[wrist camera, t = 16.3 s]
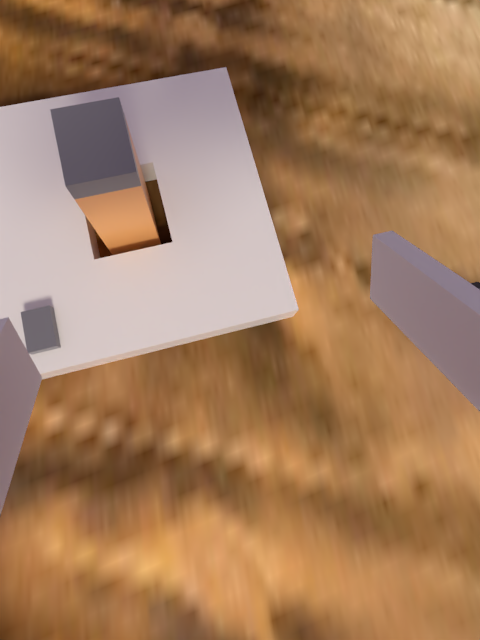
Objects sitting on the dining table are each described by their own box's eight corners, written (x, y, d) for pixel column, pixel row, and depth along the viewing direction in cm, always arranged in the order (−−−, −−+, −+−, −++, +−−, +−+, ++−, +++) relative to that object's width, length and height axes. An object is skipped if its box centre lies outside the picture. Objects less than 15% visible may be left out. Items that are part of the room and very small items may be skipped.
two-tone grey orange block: (101, 202, 34) (50, 109, 24) (148, 192, 35) (118, 97, 24) (113, 256, 33) (65, 186, 23) (161, 246, 34) (136, 171, 23)
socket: (-24, 134, 35) (-48, 107, 32) (225, 89, 37) (226, 59, 34) (16, 385, 31) (-7, 383, 28) (292, 316, 33) (300, 306, 30)
